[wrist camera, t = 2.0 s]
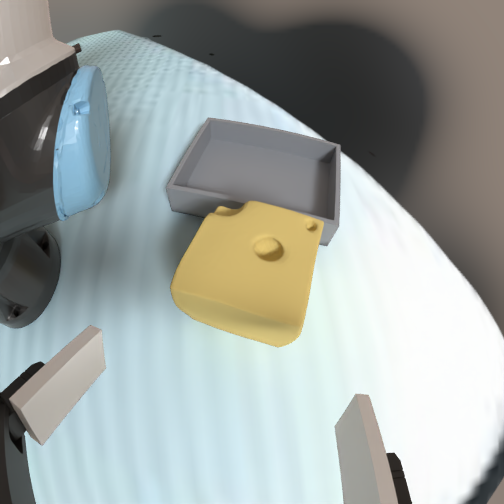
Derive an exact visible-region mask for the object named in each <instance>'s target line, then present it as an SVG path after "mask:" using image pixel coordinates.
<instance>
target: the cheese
mask: <svg viewBox="0 0 504 504" xmlns="http://www.w3.org/2000/svg"><path fill="white" fill-rule="evenodd" d="M323 226H324V222H323V221H321V220H319V219H316V218H313V217H310V216H307V215H304V214H300V213H298V212H295V211H292V210H288V209H285V208H281V207H278V206H274V205H270V204H266V203H262V202H258V201H248V202H246V203H245V204H244V205H243V206H242V207H241V208H239V209H230V208H227V207H224V206H219V207H217V209H216V210H215V212H214V213H209V214H208V215H207V216H206V217H205V219H204V220H203V222H202V224H201V226H200V227H199V229H198V231H197V233H196V235H195V236H194V238H193V240H192V242H191V244H190V245H189V247H188V249H187V250H186V252H185V254H184V256H183V257H182V259H181V261H180V263H179V265H178V267H177V269H176V272H175V274H174V277H173V279H172V282H171V285H170V289H171V294H172V297H173V300H174V302H175V304H176V306H177V307H178V308H179V309H180V310H181V311H183V312H184V313H186V314H187V315H189V316H190V317H191V318H192V319H194V320H197V321H200V322H202V323H205V324H207V325H210V326H212V327H215V328H218V329H221V330H223V331H226V332H229V333H232V334H236V335H239V336H242V337H245V338H249V339H252V340H256V341H259V342H262V343H265V344H269V345H272V346H275V347H282V346H285V345H288V344H290V343H292V342H293V341H294V340H296V339H297V338H298V337H299V335H300V334H301V331H302V327H303V324H304V319H305V314H306V309H307V304H308V299H309V293H310V287H311V281H312V276H313V270H314V264H315V259H316V255H317V250H318V246H319V242H320V238H321V234H322V230H323Z"/></svg>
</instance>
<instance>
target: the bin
mask: <svg viewBox="0 0 504 504" xmlns="http://www.w3.org/2000/svg"><path fill="white" fill-rule="evenodd" d="M166 190H167V194H168V198H169V202H170V205H171V209H172V211H175V212H180V213H185V214H189V215H194V216H199V217H203V218H205V217H206V216H207V215H208V214H209V213H214V212H215V210H216V209H217V207H219V206H224V207H227V208H230V209H239V208H241V207H242V206H243V205H244V204H245V203H246V202H248V201H258V202H262V203H266V204H270V205H274V206H278V207H281V208H285V209H288V210H292V211H295V212H298V213H300V214H304V215H307V216H310V217H313V218H316V219H319V220H321V221H323V222H324V226H323V230H322V234H321V238H320V242H319V244H320V245H324V246H328V244H329V242H330V241H331V239H332V237H333V236H334V234H335V232H336V231H337V229H338V227H339V216H340V145H339V144H335V143H332V142H328V141H324V140H321V139H317V138H313V137H309V136H305V135H301V134H297V133H293V132H288V131H284V130H279V129H274V128H269V127H264V126H259V125H254V124H248V123H242V122H236V121H230V120H223V119H216V118H207V120H206V121H205V123H204V124H203V126H202V128H201V129H200V131H199V132H198V134H197V135H196V137H195V139H194V140H193V142H192V144H191V145H190V147H189V148H188V150H187V152H186V153H185V155H184V157H183V158H182V160H181V162H180V164H179V165H178V167H177V169H176V171H175V172H174V174H173V176H172V178H171V179H170V181H169V183H168V185H167V187H166Z"/></svg>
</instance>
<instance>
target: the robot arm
mask: <svg viewBox="0 0 504 504" xmlns="http://www.w3.org/2000/svg"><path fill="white" fill-rule="evenodd" d="M110 160H111V157H110V127H109V113H108V103H107V94H106V87H105V83H104V81H103V76H102V72H101V70H100V68H99V67H97V66H95V65H91V66H89V65H84V66H82V67H79V65H78V61H77V56H76V51H75V48H74V47H72V46H69V45H67V44H65V43H62V42H60V41H57V40H56V39H55V38H54V37H53V35H52V29H51V22H50V14H49V6H48V0H0V323H2V324H4V325H6V326H8V327H11V328H22V327H25V326H27V325H29V324H30V323H32V322H33V321H34V320H36V319H37V318H38V317H39V316H40V315H41V313H42V312H43V311H44V310H45V308H46V307H47V305H48V303H49V302H50V300H51V298H52V296H53V293H54V291H55V288H56V285H57V282H58V277H59V272H60V253H59V249H58V246H57V243H56V241H55V240H54V238H53V237H52V236H51V235H50V234H49V232H48V231H47V230H46V229H45V228H44V227H42V226H45V225H47V224H50V223H53V222H55V221H58V220H62V221H65V220H67V219H68V218H69V216H71V215H73V214H76V213H78V212H81V211H83V210H86V209H88V208H91V207H93V206H95V205H96V204H98V203H99V202H100V201H101V200H102V198H103V197H104V195H105V193H106V191H107V188H108V184H109V178H110ZM105 369H106V365H105V357H104V349H103V339H102V330H101V329H99V328H96V327H94V326H92V325H90V326H88V327H87V328H86V329H85V330H84V331H83V332H81V333H80V334H79V335H78V336H77V337H76V338H74V339H73V340H72V341H71V342H70V343H69V344H68V345H66V346H65V347H64V348H63V349H62V350H61V351H60V352H59V353H57V354H56V355H55V356H54V357H53V358H52V359H51V360H50V361H49V362H47V363H46V364H44V363H42V362H41V361H40V362H38V363H35V364H33V365H31V366H30V367H29V368H28V369H27V370H25V372H23V373H22V374H21V375H20V377H18V378H17V379H15V380H14V381H13V382H12V383H11V384H10V385H9V386H8V387H7V388H6V389H5V390H4V391H3V392H1V393H0V504H36V502H35V498H34V494H33V489H32V484H31V479H30V473H29V467H28V460H27V452H26V442H25V435H24V432H25V431H26V430H27V432H28V433H29V435H30V437H31V438H33V439H34V440H35V441H37V442H38V443H39V444H41V445H42V446H43V445H44V443H45V442H46V441H47V439H48V438H49V437H50V436H51V434H52V433H53V432H54V430H55V429H56V428H57V427H58V425H59V424H60V423H61V422H62V420H63V419H64V418H65V417H66V415H67V414H68V413H69V412H70V411H71V409H72V408H73V407H74V406H75V404H76V403H77V402H78V401H79V400H80V398H81V397H82V396H83V395H84V394H85V392H86V391H87V390H88V389H89V388H90V386H91V385H92V384H93V383H94V382H95V380H96V379H97V378H98V377H99V376H100V374H101V373H102V372H103V371H104V370H105ZM335 433H336V440H337V448H338V455H339V463H340V472H341V481H342V490H343V501H344V504H412V502H411V498H410V494H409V490H408V486H407V483H406V479H405V478H404V477H405V475H404V472H403V471H402V470H403V468H402V465H401V461H400V460H399V458H398V457H397V456H396V454H395V453H386V451H385V448H384V444H383V441H382V437H381V434H380V430H379V427H378V423H377V420H376V417H375V413H374V410H373V407H372V404H371V401H370V397H369V395H364V394H355V396H354V397H353V399H352V401H351V402H350V404H349V405H348V407H347V409H346V410H345V412H344V413H343V415H342V416H341V418H340V419H339V421H338V422H337V424H336V425H335Z"/></svg>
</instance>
